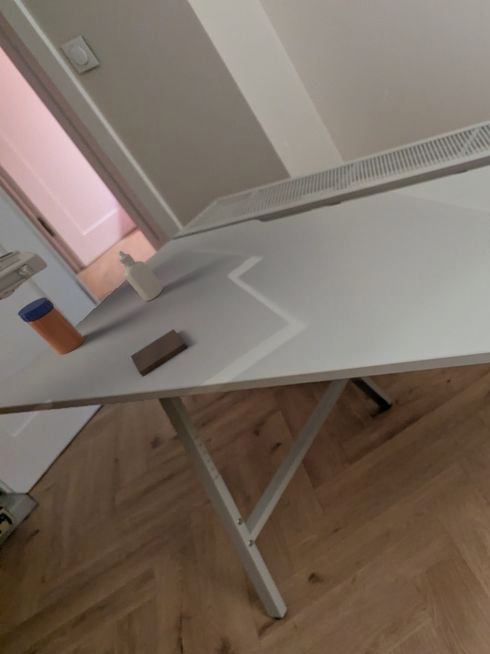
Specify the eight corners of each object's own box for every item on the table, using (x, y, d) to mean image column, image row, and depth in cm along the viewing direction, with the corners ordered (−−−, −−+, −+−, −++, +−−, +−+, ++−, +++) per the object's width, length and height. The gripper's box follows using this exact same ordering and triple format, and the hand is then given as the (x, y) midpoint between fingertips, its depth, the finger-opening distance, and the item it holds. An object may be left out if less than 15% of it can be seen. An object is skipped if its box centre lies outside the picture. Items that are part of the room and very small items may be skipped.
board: (142, 376, 97) (139, 372, 97) (133, 359, 104) (130, 356, 103) (187, 347, 100) (184, 343, 100) (176, 332, 107) (173, 329, 106)
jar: (60, 357, 116) (20, 319, 110) (57, 349, 120) (20, 312, 114) (86, 342, 118) (49, 303, 112) (83, 334, 122) (47, 297, 116)
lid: (25, 325, 110) (17, 318, 109) (24, 317, 115) (17, 310, 114) (55, 309, 113) (47, 301, 111) (52, 301, 117) (45, 294, 116)
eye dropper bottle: (140, 300, 127) (104, 258, 120) (160, 286, 130) (126, 244, 123) (148, 302, 124) (112, 259, 117) (169, 288, 127) (134, 244, 120)
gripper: (-68, 297, 120) (-57, 304, 111) (22, 246, 130) (39, 249, 122) (-43, 319, 123) (-30, 328, 115) (43, 267, 134) (60, 272, 125)
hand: (6, 287), depth 118 cm, fingers open, 8 cm apart
